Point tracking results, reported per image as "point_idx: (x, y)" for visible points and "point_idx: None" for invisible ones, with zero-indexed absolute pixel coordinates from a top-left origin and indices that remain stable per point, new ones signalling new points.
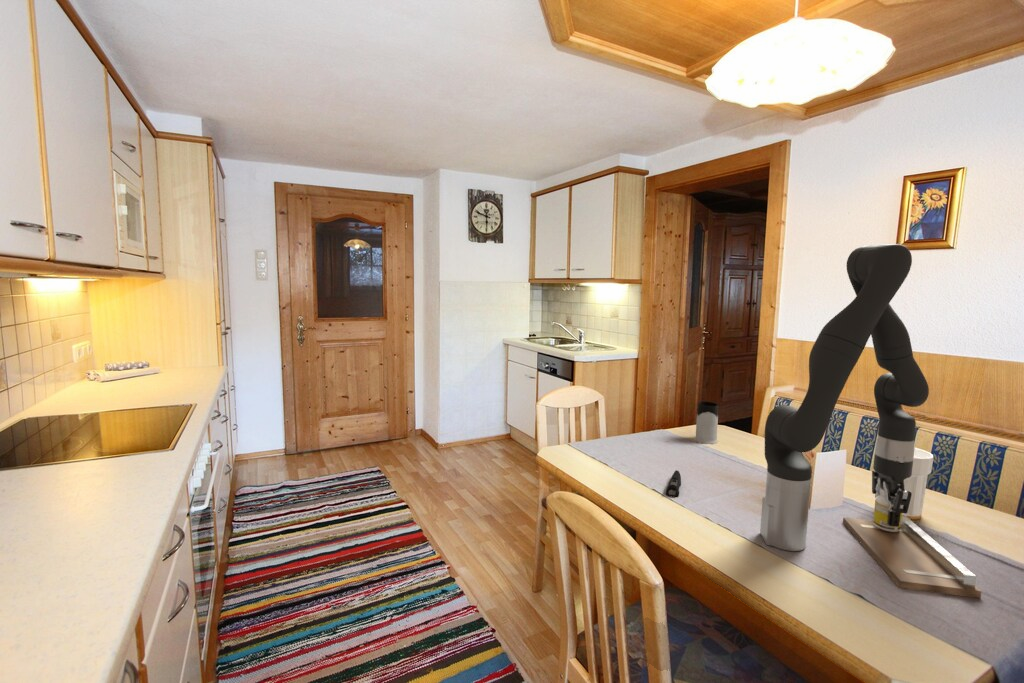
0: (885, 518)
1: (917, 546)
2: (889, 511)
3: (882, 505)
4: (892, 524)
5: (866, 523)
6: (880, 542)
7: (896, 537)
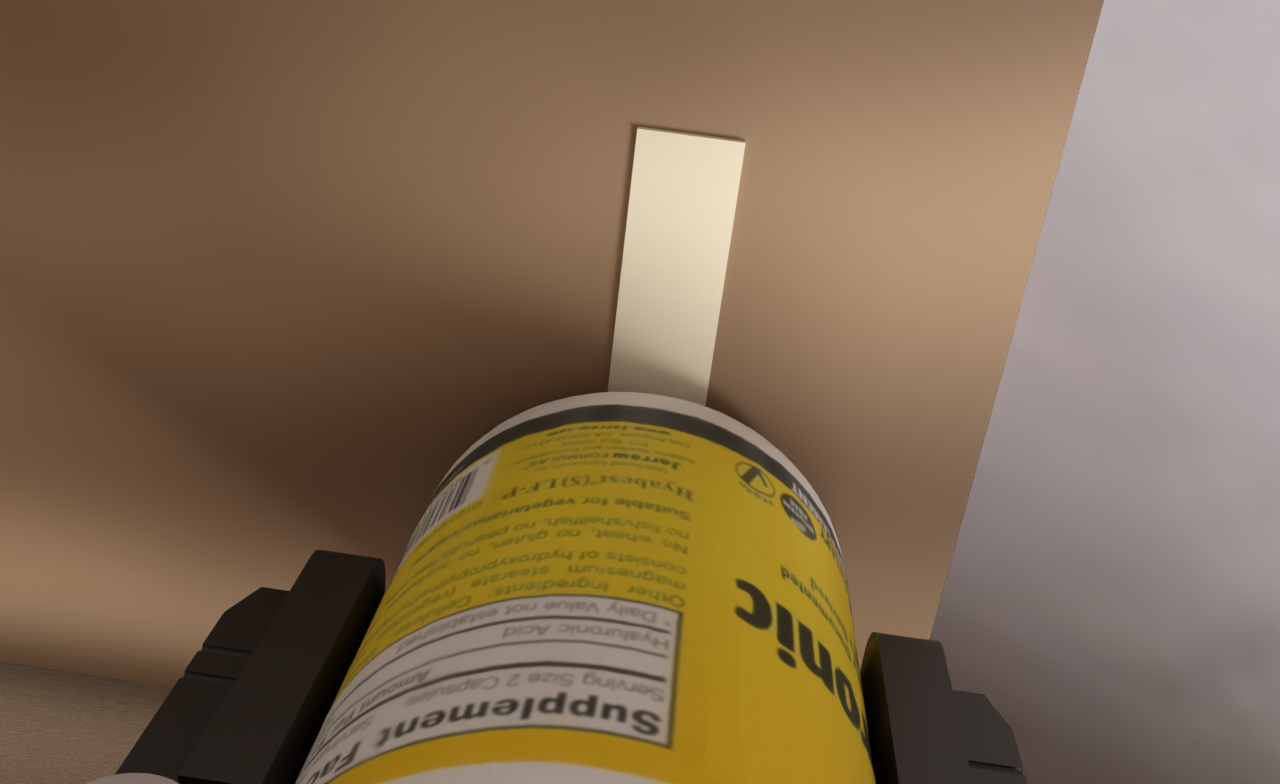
0: (396, 597)
1: (82, 644)
2: (214, 768)
3: (357, 776)
4: (259, 602)
5: (820, 314)
6: (13, 119)
7: (310, 519)
